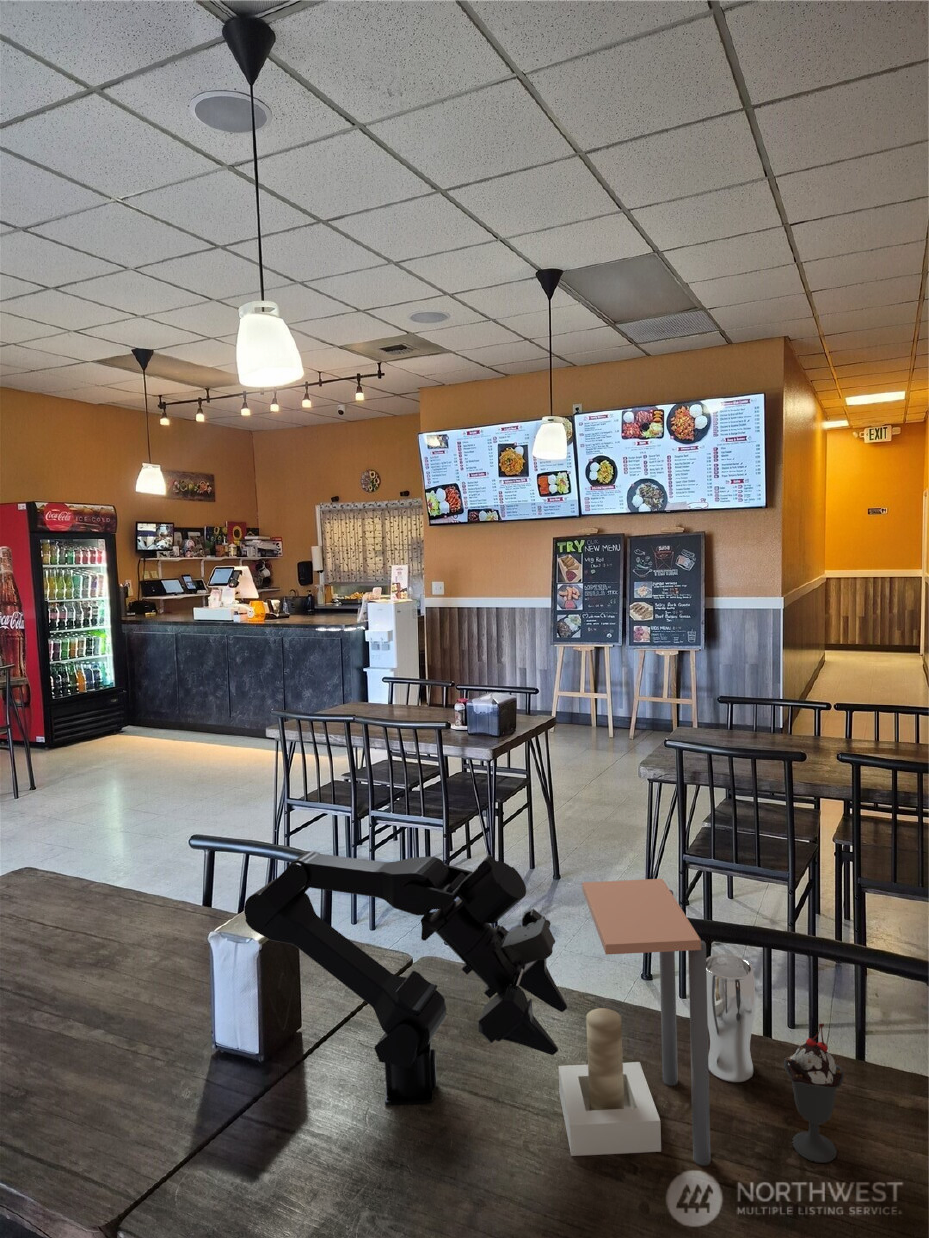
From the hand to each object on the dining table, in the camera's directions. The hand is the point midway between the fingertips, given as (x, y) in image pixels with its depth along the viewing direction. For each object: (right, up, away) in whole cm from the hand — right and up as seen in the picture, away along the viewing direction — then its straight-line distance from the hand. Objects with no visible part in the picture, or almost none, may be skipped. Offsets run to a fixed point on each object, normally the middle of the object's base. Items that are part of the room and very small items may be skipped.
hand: (560, 1029), depth 101 cm
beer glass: (+25, -10, +9) cm, 28 cm away
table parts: (+9, -11, 0) cm, 14 cm away
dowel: (+6, -10, -1) cm, 12 cm away
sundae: (+30, -11, -6) cm, 33 cm away
